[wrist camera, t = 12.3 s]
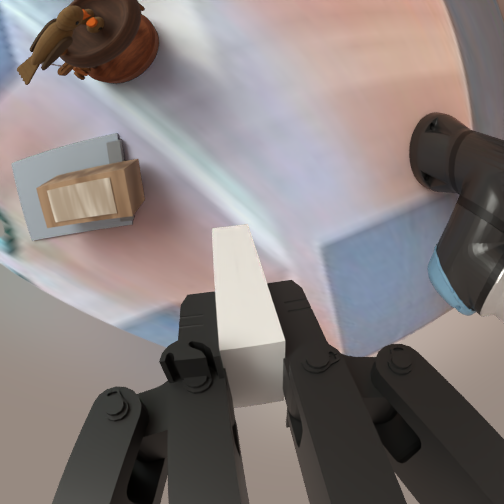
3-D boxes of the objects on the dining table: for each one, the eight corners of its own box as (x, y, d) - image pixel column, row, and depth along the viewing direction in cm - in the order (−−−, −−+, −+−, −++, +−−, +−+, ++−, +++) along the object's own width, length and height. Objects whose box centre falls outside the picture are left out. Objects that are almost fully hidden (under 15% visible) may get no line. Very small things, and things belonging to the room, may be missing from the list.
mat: (120, 132, 34) (118, 133, 33) (135, 223, 41) (134, 226, 40) (12, 162, 32) (8, 164, 30) (33, 239, 38) (30, 242, 37)
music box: (123, 107, 32) (42, 107, 15) (71, 74, 29) (-20, 63, 11) (193, 22, 28) (170, -50, 10) (136, -8, 24) (83, -73, 6)
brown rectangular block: (123, 169, 30) (35, 188, 29) (132, 216, 33) (46, 228, 32) (138, 158, 35) (57, 175, 34) (144, 199, 38) (65, 211, 37)
